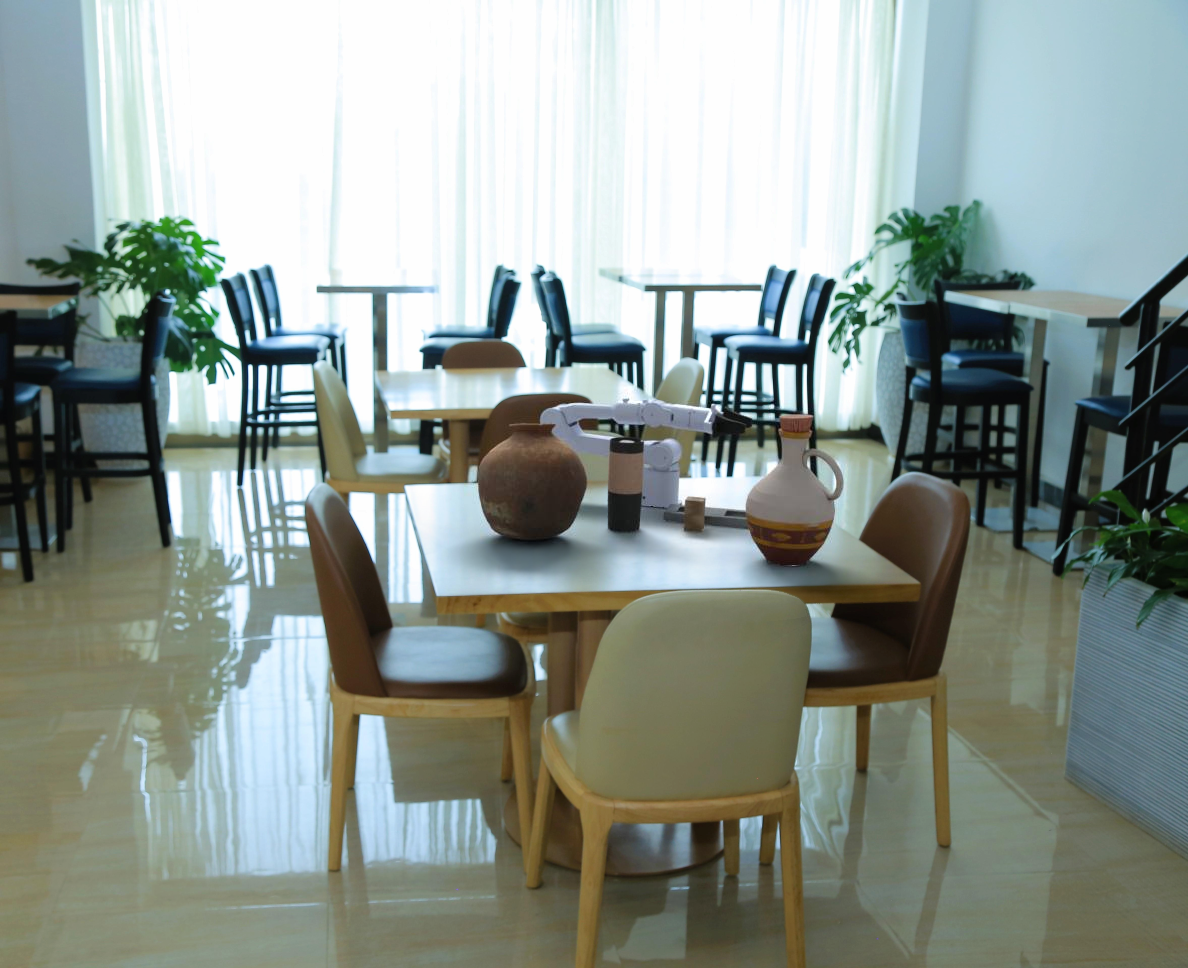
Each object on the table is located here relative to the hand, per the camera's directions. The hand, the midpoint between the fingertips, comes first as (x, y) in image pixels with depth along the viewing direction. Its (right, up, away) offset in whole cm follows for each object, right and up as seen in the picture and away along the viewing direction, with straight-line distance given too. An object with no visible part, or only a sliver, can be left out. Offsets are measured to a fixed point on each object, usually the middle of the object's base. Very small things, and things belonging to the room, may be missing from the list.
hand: (748, 425), depth 278 cm
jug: (+4, -30, -37) cm, 48 cm away
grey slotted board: (-9, -22, -4) cm, 24 cm away
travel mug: (-30, -24, -14) cm, 41 cm away
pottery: (-50, -25, -25) cm, 61 cm away
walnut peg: (-14, -24, -13) cm, 30 cm away
